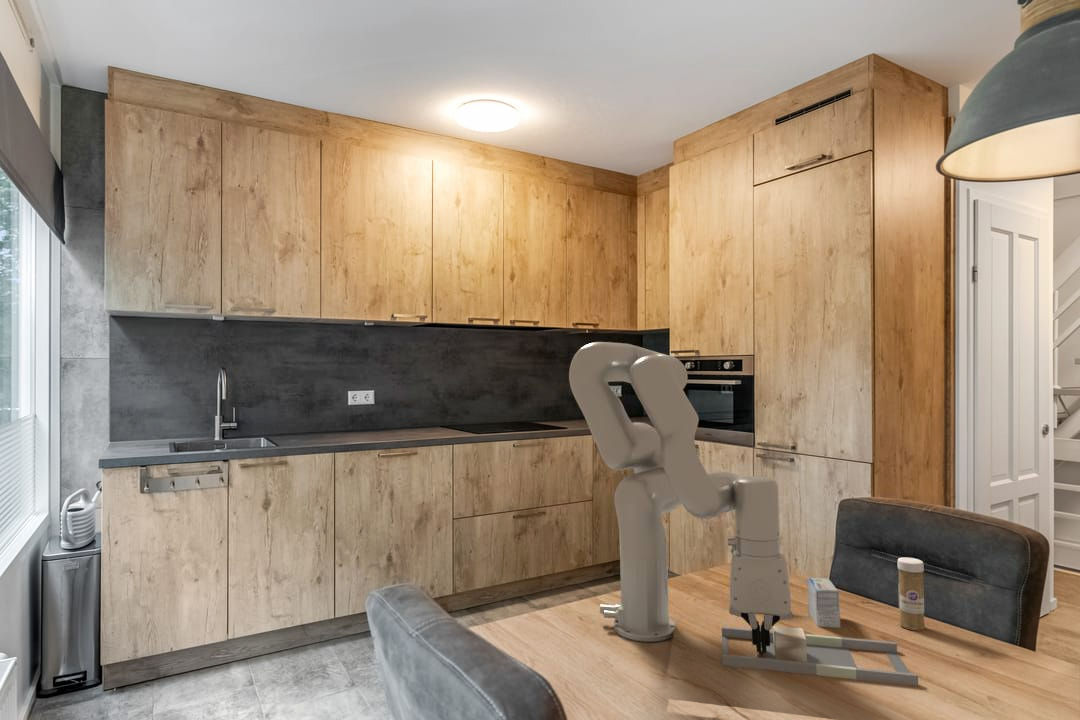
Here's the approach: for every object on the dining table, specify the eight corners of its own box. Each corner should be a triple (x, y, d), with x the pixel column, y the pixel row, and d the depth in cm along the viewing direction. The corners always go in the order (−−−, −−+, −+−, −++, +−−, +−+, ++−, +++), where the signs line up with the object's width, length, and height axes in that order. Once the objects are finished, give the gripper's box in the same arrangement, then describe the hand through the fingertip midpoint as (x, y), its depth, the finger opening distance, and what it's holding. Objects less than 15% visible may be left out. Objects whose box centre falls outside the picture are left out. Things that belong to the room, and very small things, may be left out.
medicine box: (841, 635, 123) (839, 591, 123) (816, 634, 123) (815, 589, 124) (830, 620, 130) (829, 578, 131) (808, 618, 131) (807, 577, 131)
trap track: (722, 673, 108) (722, 655, 108) (722, 642, 120) (721, 626, 120) (918, 695, 100) (918, 676, 100) (896, 659, 112) (895, 642, 112)
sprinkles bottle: (905, 631, 124) (903, 562, 124) (895, 622, 129) (893, 556, 129) (929, 631, 124) (927, 563, 124) (918, 622, 128) (917, 556, 128)
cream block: (776, 660, 109) (775, 637, 109) (773, 648, 114) (772, 625, 114) (806, 663, 108) (806, 639, 108) (803, 650, 113) (802, 628, 113)
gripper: (714, 549, 111) (717, 654, 111) (805, 554, 107) (809, 663, 106) (715, 539, 118) (718, 637, 118) (799, 543, 114) (803, 644, 114)
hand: (761, 649), depth 112 cm, fingers closed
